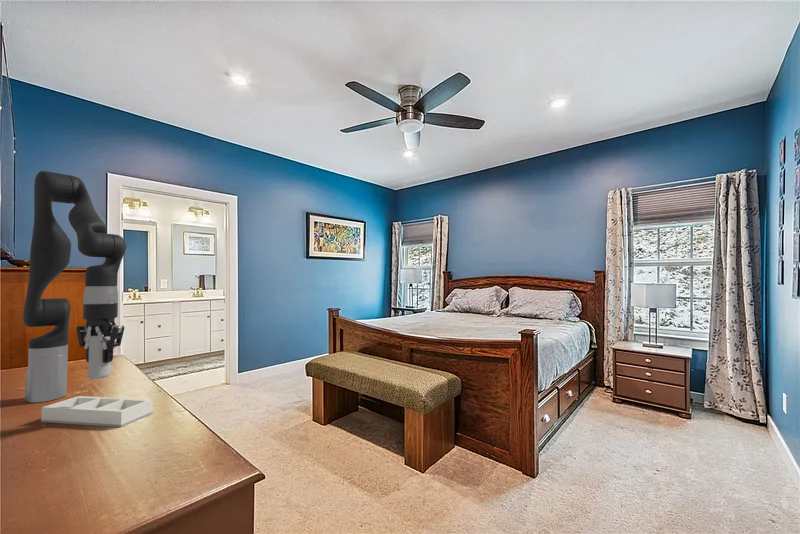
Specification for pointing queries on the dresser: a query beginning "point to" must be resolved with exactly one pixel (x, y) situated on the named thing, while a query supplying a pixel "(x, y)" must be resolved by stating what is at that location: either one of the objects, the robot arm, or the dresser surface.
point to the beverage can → (97, 359)
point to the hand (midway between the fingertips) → (99, 361)
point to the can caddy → (97, 411)
